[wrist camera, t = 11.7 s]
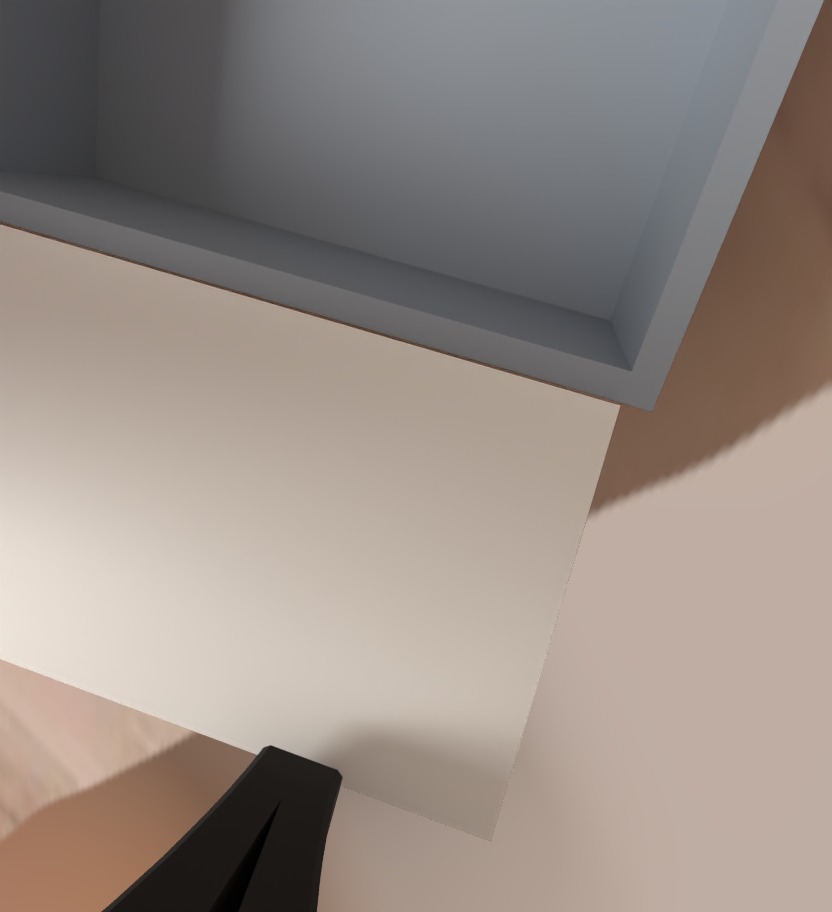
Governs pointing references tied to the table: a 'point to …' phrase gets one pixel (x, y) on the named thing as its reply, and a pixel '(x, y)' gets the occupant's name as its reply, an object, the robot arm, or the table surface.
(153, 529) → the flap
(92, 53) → the carton
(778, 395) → the table surface
